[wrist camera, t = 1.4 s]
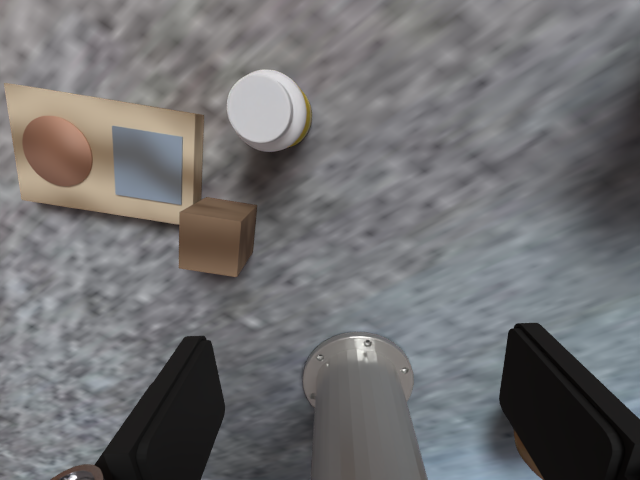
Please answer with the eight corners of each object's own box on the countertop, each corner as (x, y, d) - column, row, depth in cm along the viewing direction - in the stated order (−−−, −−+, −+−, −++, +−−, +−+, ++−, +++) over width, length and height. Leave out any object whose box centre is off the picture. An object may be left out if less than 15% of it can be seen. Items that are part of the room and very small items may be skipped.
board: (200, 220, 33) (191, 227, 30) (39, 195, 32) (19, 200, 30) (203, 115, 29) (194, 114, 27) (25, 85, 29) (1, 82, 27)
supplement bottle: (305, 75, 28) (291, 50, 19) (318, 140, 30) (312, 146, 20) (244, 90, 29) (203, 72, 19) (261, 152, 30) (230, 164, 21)
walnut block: (252, 252, 34) (236, 277, 28) (204, 244, 33) (178, 268, 28) (257, 205, 32) (241, 221, 26) (206, 197, 32) (179, 211, 26)
